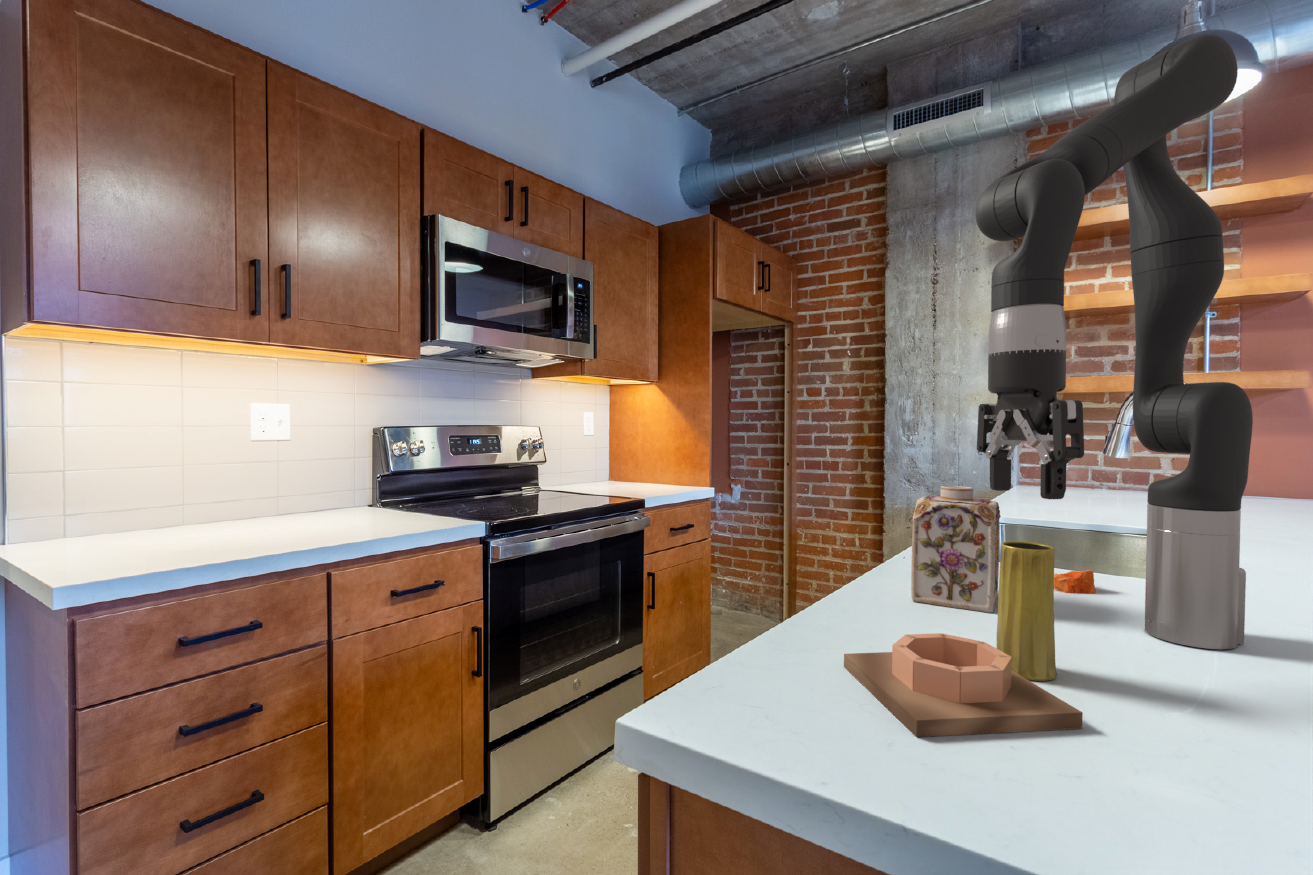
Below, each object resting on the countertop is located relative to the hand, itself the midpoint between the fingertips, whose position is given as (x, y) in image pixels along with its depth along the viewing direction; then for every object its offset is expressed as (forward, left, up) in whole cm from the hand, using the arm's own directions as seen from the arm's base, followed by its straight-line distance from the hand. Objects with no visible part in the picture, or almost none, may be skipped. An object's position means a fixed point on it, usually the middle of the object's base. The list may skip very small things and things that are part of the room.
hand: (1024, 494), depth 70 cm
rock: (-32, -31, -21) cm, 50 cm away
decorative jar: (-9, -28, -20) cm, 35 cm away
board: (+12, +5, -20) cm, 24 cm away
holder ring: (+12, +5, -18) cm, 23 cm away
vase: (0, 0, -20) cm, 20 cm away
